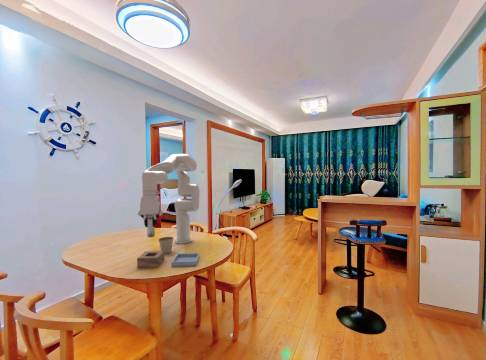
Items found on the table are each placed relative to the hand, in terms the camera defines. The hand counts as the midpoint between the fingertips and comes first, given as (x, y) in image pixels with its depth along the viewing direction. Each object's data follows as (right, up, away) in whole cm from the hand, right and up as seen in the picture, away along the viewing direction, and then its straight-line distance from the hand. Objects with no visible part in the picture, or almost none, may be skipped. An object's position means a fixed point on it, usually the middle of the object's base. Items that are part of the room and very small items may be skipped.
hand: (150, 226), depth 127 cm
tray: (+19, -21, +2) cm, 28 cm away
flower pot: (+2, -21, +19) cm, 28 cm away
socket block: (0, -21, 0) cm, 21 cm away
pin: (0, -6, 0) cm, 6 cm away
